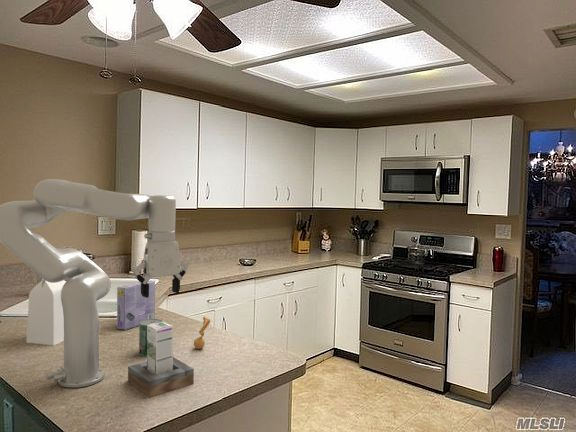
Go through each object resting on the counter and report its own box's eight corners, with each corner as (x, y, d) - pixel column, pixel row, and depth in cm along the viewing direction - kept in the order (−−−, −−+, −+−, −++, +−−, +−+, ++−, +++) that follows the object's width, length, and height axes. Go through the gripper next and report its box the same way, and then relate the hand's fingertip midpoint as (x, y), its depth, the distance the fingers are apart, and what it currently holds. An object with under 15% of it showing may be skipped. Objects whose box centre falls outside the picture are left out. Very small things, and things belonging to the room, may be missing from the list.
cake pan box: (148, 318, 199) (149, 279, 198) (157, 319, 197) (157, 280, 196) (115, 329, 182) (115, 286, 181) (124, 331, 180) (125, 288, 179)
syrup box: (173, 372, 132) (174, 325, 131) (155, 378, 128) (155, 328, 127) (163, 367, 136) (164, 320, 135) (145, 372, 132) (146, 324, 131)
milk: (53, 345, 161) (53, 274, 160) (26, 342, 163) (26, 272, 162) (75, 335, 173) (76, 269, 172) (50, 332, 175) (50, 267, 174)
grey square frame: (149, 397, 122) (149, 381, 122) (127, 381, 132) (128, 366, 132) (193, 383, 132) (193, 368, 131) (170, 369, 142) (170, 355, 142)
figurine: (197, 344, 166) (198, 312, 165) (213, 345, 165) (213, 313, 165) (190, 352, 158) (190, 318, 157) (206, 353, 157) (206, 319, 156)
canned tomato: (155, 357, 152) (156, 326, 151) (134, 355, 153) (134, 324, 153) (166, 349, 160) (166, 319, 159) (145, 347, 161) (146, 318, 160)
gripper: (139, 239, 122) (138, 301, 122) (194, 237, 133) (193, 293, 134) (128, 237, 127) (127, 296, 128) (181, 235, 139) (180, 288, 140)
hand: (160, 294), depth 131 cm, fingers open, 9 cm apart
